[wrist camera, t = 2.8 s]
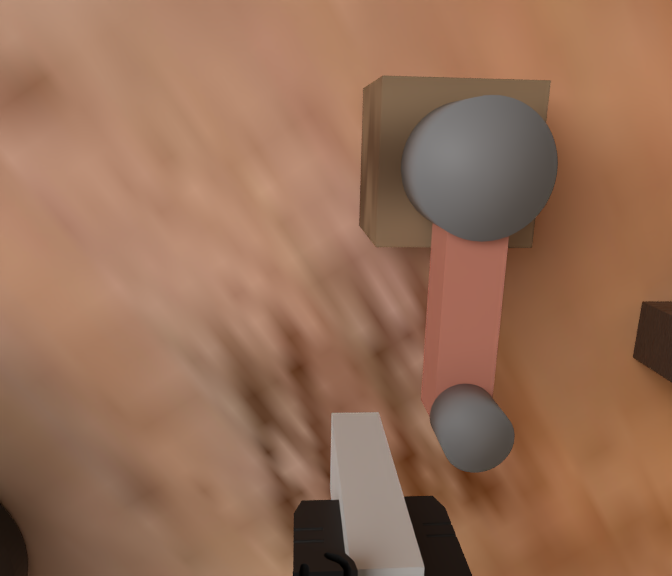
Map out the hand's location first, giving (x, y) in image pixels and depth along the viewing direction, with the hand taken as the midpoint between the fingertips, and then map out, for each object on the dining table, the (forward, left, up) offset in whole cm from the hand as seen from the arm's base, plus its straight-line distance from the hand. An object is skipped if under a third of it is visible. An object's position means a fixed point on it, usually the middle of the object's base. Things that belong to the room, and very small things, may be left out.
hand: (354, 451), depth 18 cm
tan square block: (+8, -6, -18) cm, 21 cm away
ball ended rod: (+3, -6, -11) cm, 13 cm away
